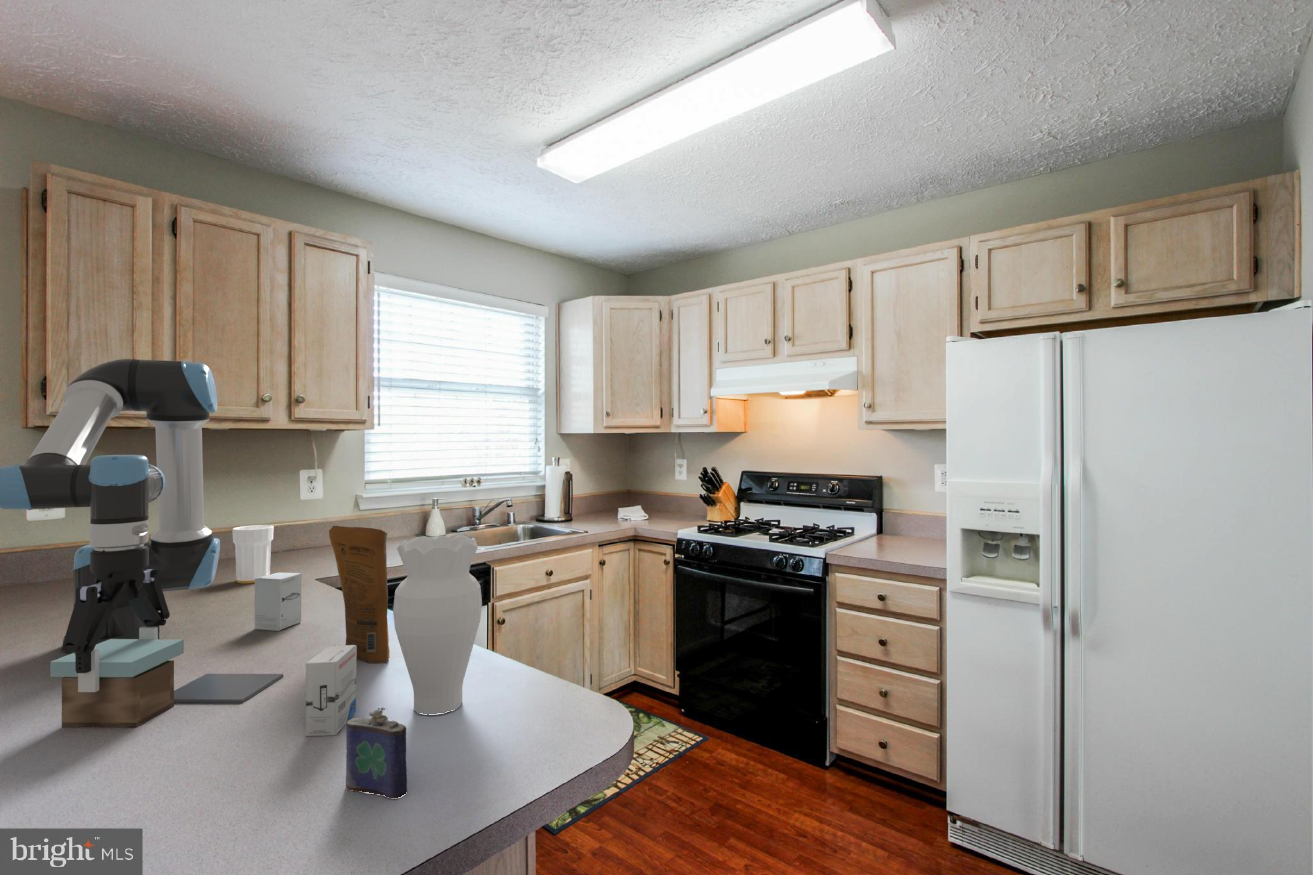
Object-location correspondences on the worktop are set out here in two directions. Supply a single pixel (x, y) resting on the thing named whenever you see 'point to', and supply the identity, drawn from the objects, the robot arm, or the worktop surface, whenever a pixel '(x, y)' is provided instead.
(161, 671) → the crate
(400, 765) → the flask
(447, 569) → the vase
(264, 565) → the cup
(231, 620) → the worktop surface
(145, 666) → the lid
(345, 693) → the ink box
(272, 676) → the mat
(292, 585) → the supplement box
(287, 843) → the worktop surface
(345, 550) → the pancake mix bag
